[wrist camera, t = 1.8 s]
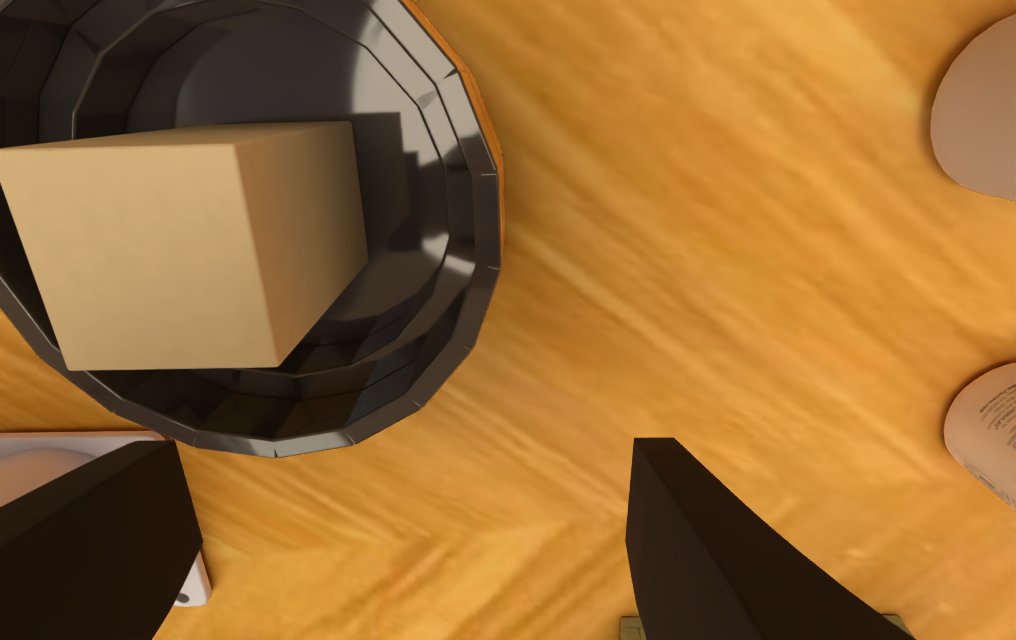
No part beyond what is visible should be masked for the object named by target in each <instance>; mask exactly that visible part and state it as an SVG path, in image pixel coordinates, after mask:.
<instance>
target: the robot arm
mask: <svg viewBox="0 0 1016 640" xmlns="http://www.w3.org/2000/svg"><path fill="white" fill-rule="evenodd" d="M625 541H626V547H627V553H628V559H629V565H630V571H631V577H632V583H633V588H634V594H635V599H636V604H637V608H638V612H639V615H640V619H641V622H642V626H643V629H644V633H645V636H646V640H916V639H915V638H913V637H912V636H911V635H909V634H908V633H906V632H905V631H904V630H902V629H901V628H899V627H898V626H896V625H895V624H894V623H892V622H891V621H889V620H888V619H887V618H885V617H884V616H882V615H881V614H879V613H878V612H877V611H875V610H874V609H872V608H871V607H870V606H868V605H867V604H866V603H864V602H863V601H862V600H860V599H859V598H858V597H856V596H855V595H854V594H852V593H851V592H850V591H848V590H847V589H846V588H845V587H843V586H842V585H841V584H839V583H838V582H837V581H836V580H834V579H833V578H832V577H831V576H829V575H828V574H827V573H826V572H824V571H823V570H822V569H821V568H819V567H818V566H817V565H816V564H814V563H813V562H812V561H811V560H809V559H808V558H807V557H806V556H804V555H803V554H802V553H801V552H799V551H798V550H797V549H796V548H795V547H793V546H792V545H791V544H790V543H789V542H788V541H786V540H785V539H784V538H783V537H782V536H780V535H779V534H778V533H777V532H776V531H775V530H773V529H772V528H771V527H770V526H769V525H768V524H767V523H765V522H764V521H763V520H762V519H761V518H760V517H759V516H757V515H756V514H755V513H754V512H753V511H752V510H751V509H750V508H749V507H747V506H746V505H745V504H744V503H743V502H742V501H741V500H740V499H739V498H738V497H736V496H735V495H734V494H733V493H732V492H731V491H730V490H729V489H728V488H727V487H726V486H725V485H723V484H722V483H721V482H720V481H719V480H718V479H717V478H716V477H715V476H714V475H713V474H712V473H711V472H710V471H709V470H708V469H707V468H705V467H704V466H703V465H702V464H701V463H700V462H699V461H698V460H697V459H696V458H695V457H694V456H693V455H692V454H691V453H690V452H689V451H688V450H687V449H685V448H684V447H683V446H682V445H681V444H680V443H679V442H678V441H677V440H676V439H675V438H634V444H633V456H632V468H631V480H630V492H629V504H628V515H627V527H626V539H625ZM202 544H203V539H202V535H201V532H200V528H199V525H198V521H197V518H196V514H195V510H194V507H193V503H192V500H191V496H190V493H189V489H188V486H187V482H186V478H185V475H184V471H183V468H182V464H181V461H180V457H179V453H178V450H177V446H176V443H175V440H165V438H164V437H163V436H162V435H161V434H159V433H157V432H154V431H101V432H33V433H0V640H152V639H153V637H154V635H155V634H156V632H157V631H158V629H159V628H160V626H161V624H162V623H163V621H164V620H165V618H166V616H167V615H168V613H169V611H170V610H171V608H172V607H181V606H203V605H205V604H206V603H207V602H208V600H209V598H210V597H211V595H212V590H211V586H210V583H209V580H208V576H207V573H206V570H205V567H204V563H203V560H202V557H201V553H200V548H201V546H202Z"/></svg>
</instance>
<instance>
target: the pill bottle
mask: <svg viewBox="0 0 1016 640" xmlns="http://www.w3.org/2000/svg"><path fill="white" fill-rule="evenodd" d="M944 440H945V445H946V447H947V449H948V451H949V453H950V454H951V455H952V457H953V458H954V459H955V460H956V461H957V462H958V463H959V464H961V465H962V466H963V467H964V468H965V469H967V470H968V471H969V472H970V473H971V474H972V475H974V476H975V477H976V478H977V479H978V480H979V481H981V482H982V483H983V484H984V485H985V486H987V487H988V488H989V489H990V490H992V491H993V492H994V493H995V494H996V495H997V496H999V497H1000V498H1001V499H1002V500H1003V501H1005V502H1006V503H1007V504H1008V505H1009V506H1011V507H1012V508H1013V509H1014V510H1015V511H1016V362H1015V363H1011V364H1007V365H1004V366H1001V367H998V368H996V369H993V370H991V371H989V372H987V373H985V374H983V375H982V376H980V377H979V378H977V379H975V380H974V381H973V382H971V383H970V384H969V385H968V386H966V387H965V388H964V389H963V390H962V391H961V392H960V393H959V394H958V395H957V397H956V398H955V400H954V401H953V403H952V405H951V407H950V409H949V411H948V413H947V416H946V419H945V423H944Z"/></svg>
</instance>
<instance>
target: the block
mask: <svg viewBox="0 0 1016 640" xmlns="http://www.w3.org/2000/svg"><path fill="white" fill-rule="evenodd" d="M0 183H1V186H2V189H3V191H4V194H5V197H6V200H7V203H8V205H9V208H10V211H11V214H12V216H13V219H14V222H15V225H16V227H17V230H18V233H19V236H20V239H21V241H22V244H23V247H24V250H25V252H26V255H27V258H28V261H29V263H30V266H31V269H32V272H33V275H34V277H35V280H36V283H37V286H38V288H39V291H40V294H41V297H42V299H43V302H44V305H45V308H46V311H47V313H48V316H49V319H50V322H51V324H52V327H53V330H54V333H55V335H56V338H57V341H58V344H59V347H60V349H61V352H62V355H63V358H64V360H65V363H66V366H67V368H68V370H70V371H80V370H139V369H198V368H257V367H278V366H279V365H280V364H281V363H282V362H283V361H284V359H285V358H286V357H287V356H288V355H289V354H290V352H291V351H292V350H293V349H294V348H295V347H296V345H297V344H298V343H299V342H300V341H301V340H302V338H303V337H304V336H305V335H306V334H307V333H308V331H309V330H310V329H311V328H312V327H313V326H314V324H315V323H316V322H317V321H318V320H319V319H320V317H321V316H322V315H323V314H324V313H325V312H326V310H327V309H328V308H329V307H330V306H331V305H332V303H333V302H334V301H335V300H336V299H337V298H338V296H339V295H340V294H341V293H342V292H343V291H344V289H345V288H346V287H347V286H348V285H349V284H350V282H351V281H352V280H353V279H354V278H355V277H356V275H357V274H358V273H359V272H360V271H361V270H362V268H363V267H364V266H365V265H366V264H367V263H368V261H369V258H368V250H367V242H366V234H365V226H364V217H363V209H362V201H361V193H360V185H359V177H358V169H357V161H356V153H355V145H354V136H353V128H352V123H351V122H350V121H327V122H289V123H251V124H213V125H201V126H192V127H184V128H175V129H166V130H157V131H149V132H140V133H131V134H122V135H113V136H105V137H96V138H87V139H78V140H69V141H61V142H52V143H43V144H34V145H26V146H17V147H8V148H0Z"/></svg>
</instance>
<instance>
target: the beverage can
mask: <svg viewBox="0 0 1016 640" xmlns="http://www.w3.org/2000/svg"><path fill="white" fill-rule="evenodd" d="M930 137H931V141H932V145H933V150H934V154H935V157H936V159H937V160H938V162H939V164H940V165H941V167H942V169H943V170H944V172H945V173H946V174H947V175H948V176H949V177H951V178H952V179H953V180H954V181H956V182H957V183H958V184H959V185H961V186H962V187H964V188H967V189H970V190H973V191H976V192H978V193H981V194H985V195H990V196H994V197H999V198H1003V199H1008V200H1012V201H1016V14H1014V15H1012V16H1009V17H1007V18H1005V19H1003V20H1000V21H998V22H997V23H995V24H994V25H992V26H991V27H990V28H988V29H987V30H985V31H984V32H982V33H981V34H980V35H978V36H977V37H975V38H974V39H973V40H972V41H971V42H970V43H969V44H968V45H967V47H966V48H965V49H964V50H963V51H962V52H961V53H960V54H959V56H958V57H957V58H956V59H955V60H954V61H953V63H952V64H951V66H950V68H949V70H948V71H947V73H946V75H945V77H944V78H943V80H942V82H941V84H940V86H939V88H938V91H937V94H936V98H935V101H934V104H933V107H932V111H931V125H930Z"/></svg>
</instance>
